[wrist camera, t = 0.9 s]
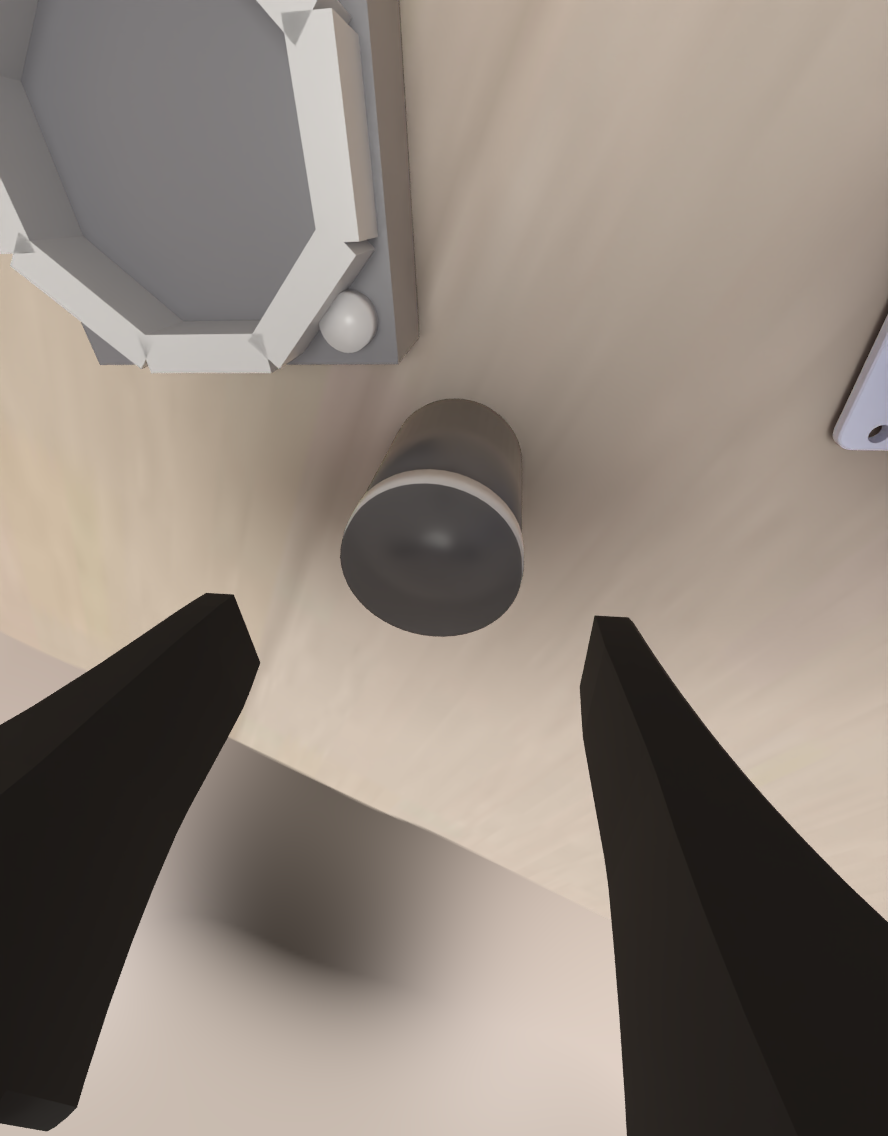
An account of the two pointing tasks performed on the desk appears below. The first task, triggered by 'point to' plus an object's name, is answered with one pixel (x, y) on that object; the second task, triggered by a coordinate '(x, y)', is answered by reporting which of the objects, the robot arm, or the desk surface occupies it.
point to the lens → (441, 523)
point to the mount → (212, 178)
